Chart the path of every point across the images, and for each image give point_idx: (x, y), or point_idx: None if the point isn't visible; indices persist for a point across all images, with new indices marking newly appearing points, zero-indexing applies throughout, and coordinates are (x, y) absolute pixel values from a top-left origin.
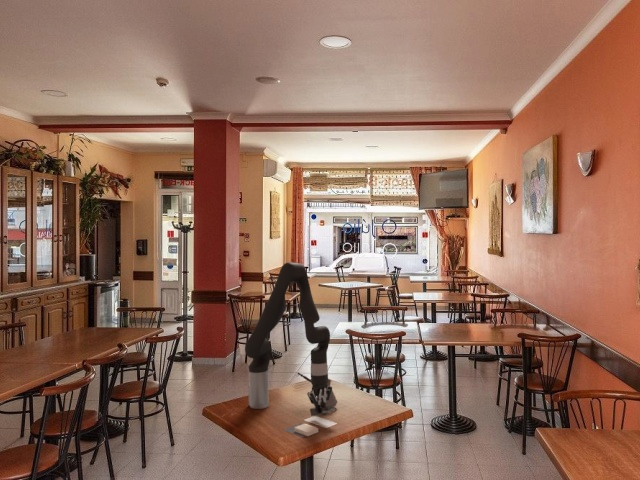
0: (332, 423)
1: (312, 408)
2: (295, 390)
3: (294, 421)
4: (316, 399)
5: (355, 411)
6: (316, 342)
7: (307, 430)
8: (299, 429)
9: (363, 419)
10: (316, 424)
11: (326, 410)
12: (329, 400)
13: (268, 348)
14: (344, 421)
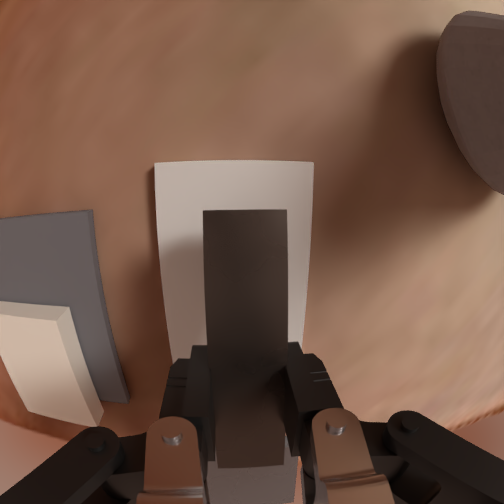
0: None
1: (220, 256)
2: None
3: (105, 106)
4: (189, 488)
5: (501, 300)
6: None
7: (33, 400)
8: (1, 355)
9: (425, 404)
10: (168, 328)
11: (220, 476)
12: None
13: None
14: (364, 381)
